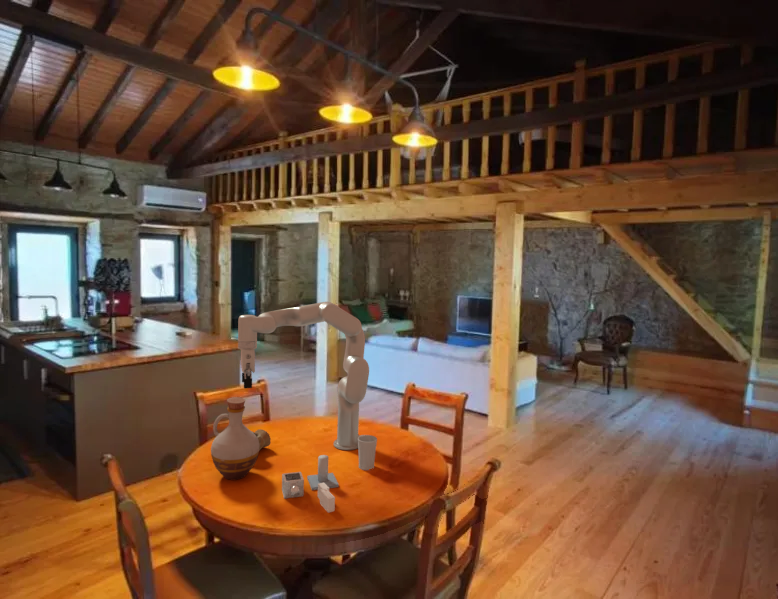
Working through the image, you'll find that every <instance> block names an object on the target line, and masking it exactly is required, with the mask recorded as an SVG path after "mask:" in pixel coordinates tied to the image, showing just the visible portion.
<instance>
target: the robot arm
mask: <svg viewBox="0 0 778 599" xmlns="http://www.w3.org/2000/svg"><path fill="white" fill-rule="evenodd" d="M324 322H325V323H327V324H328V325H330V326H331V327H333V328H334V329H336V330H337V331H339V332H341V333H342V334H344V337H345V341H346V342H345V350H344V356H343V362H342V368H343V370H344V371H345V373H346V374H347V376H344V377H342V378H341V379H340V380H339V381H338V384H337V404H338V405H337V408H338V409H337V431H336V432H337V434H336V435H337V436H336V438H337V439H335V440H334V441H333V447H335V449H338V450H341V451H352V450H356V449H358V437H359V436H362V435H363V434H361V435H360V434H359V422H360V421H359V420H360V419H359V418H360V403H361V402H363V400H364V399H365V397H366V394H367V389H368V383H369V376H370V366H369V363H368V361H367V360H366V359H365V358H364V356H365V349H366V348H365V346H366V339H365V338H366V336H365V332H364V330H363V326H362V322H361V320H359V319H358V318H357V317H355V316H354V315H353V314H351V313H349V312H348V311H346V310H344V309H343V308H340V306H339V305H336V304H335V303H333V302H330V301H322V302H318V303H317V302H316V303H312V304H307V305H302V306H301V305H300V306H296V307H289V308H282V309H277V310H272V311H265V312H263V313H260V314H259V315H258V316H257V315H254V314H242V315H239V317H238V321H237V323H238V326H237V327H238V328H237V329H238V330H237V334H238V335H237V349H238V350H240V365H241V366H240V367H241V371H242V373H241V382H242V383H243V389H252V388H253V377H252V376H253V375H252V373H253V374H254V373H255V372H256V367H255V366H256V360H255V359H256V356H255V355H256V354H255V353H256V352H255V351H256V349H257V348H258V333H260V334H271V333H273V332H275V330H277V328H279V327H280V328H281V327H287V326H292V327H293V326H294V327H305V326H309V325H314V324H317V323H318V324H319V323H324Z"/></svg>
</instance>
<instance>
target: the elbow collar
mask: <svg viewBox="0 0 778 599" xmlns="http://www.w3.org/2000/svg"><path fill="white" fill-rule="evenodd" d="M304 484H305V479H304V476H303V473H302V472H301V471H296V472H285V473H282V474H281V491H282V492H281V493H282V495H283V499H290V498H298V497H304V495H305V493H304V492H305V491H304V490H305V489H304V486H305V485H304Z"/></svg>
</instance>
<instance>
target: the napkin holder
mask: <svg viewBox="0 0 778 599" xmlns="http://www.w3.org/2000/svg"><path fill="white" fill-rule="evenodd" d="M317 498H318V499H319V504H320V505H321V507H322V508H323V509H324V510H325V511H326V512H327V513H332V512H335V509H336V507H335V506H336V503H335V502H336V496H334V495H333V494H332V493H331V492H330V488H329V487H328V486H327V485H326V484H325V483H319V484H318V490H317Z"/></svg>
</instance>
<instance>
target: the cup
mask: <svg viewBox="0 0 778 599" xmlns="http://www.w3.org/2000/svg"><path fill="white" fill-rule="evenodd" d="M361 435H362V436H359V437H358V448H357V449H358V450H357V451H358V453H357V454H358V468H359V469H360V470H362V471H370V470H369V469H372V468H373V469H374V468H375V459H376V452H377V451H376V449H377V445H378V444H377V443H378V438H377V437H376V436H375V435H370V434H361ZM373 469H372V470H373Z"/></svg>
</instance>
